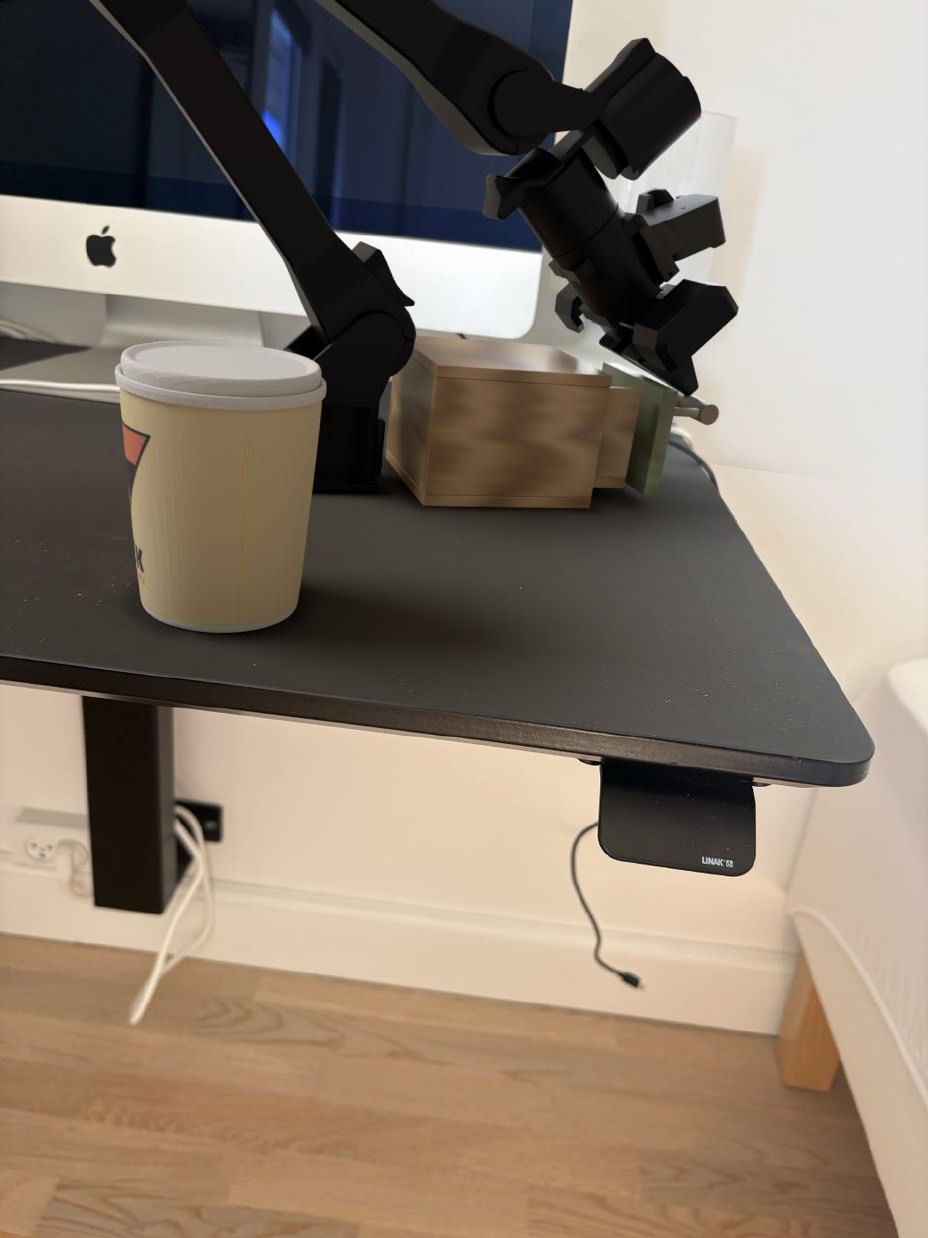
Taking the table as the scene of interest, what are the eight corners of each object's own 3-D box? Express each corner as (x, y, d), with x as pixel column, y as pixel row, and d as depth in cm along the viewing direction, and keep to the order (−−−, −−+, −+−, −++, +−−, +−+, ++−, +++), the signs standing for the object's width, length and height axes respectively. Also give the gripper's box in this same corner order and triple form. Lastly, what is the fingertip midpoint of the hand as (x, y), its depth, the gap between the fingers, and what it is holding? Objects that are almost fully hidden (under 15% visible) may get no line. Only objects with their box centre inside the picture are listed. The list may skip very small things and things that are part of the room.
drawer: (652, 458, 83) (671, 366, 80) (715, 496, 74) (738, 394, 71) (470, 452, 78) (482, 353, 74) (514, 492, 69) (529, 382, 65)
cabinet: (533, 463, 80) (550, 345, 76) (589, 508, 70) (613, 375, 66) (385, 458, 76) (395, 333, 72) (423, 506, 66) (437, 364, 62)
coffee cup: (157, 556, 53) (154, 331, 48) (327, 576, 53) (341, 354, 48) (92, 628, 44) (79, 363, 39) (295, 651, 45) (307, 390, 40)
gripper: (743, 146, 59) (847, 340, 67) (612, 145, 75) (709, 301, 83) (605, 275, 60) (724, 451, 68) (505, 246, 76) (611, 391, 83)
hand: (692, 391), depth 75 cm, fingers closed, pressing on drawer
